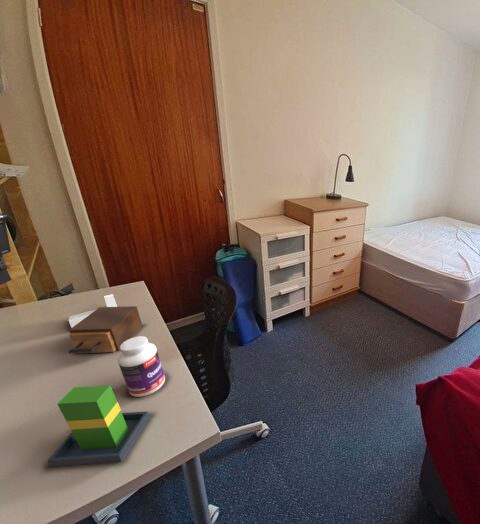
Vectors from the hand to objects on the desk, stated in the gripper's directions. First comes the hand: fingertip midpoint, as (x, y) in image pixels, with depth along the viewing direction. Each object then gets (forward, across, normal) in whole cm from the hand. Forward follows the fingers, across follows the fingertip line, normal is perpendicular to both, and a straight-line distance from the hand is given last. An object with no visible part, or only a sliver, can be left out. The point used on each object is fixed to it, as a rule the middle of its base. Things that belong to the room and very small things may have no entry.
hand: (2, 282), depth 67 cm
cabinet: (+28, -8, -14) cm, 33 cm away
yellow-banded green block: (+28, -29, +22) cm, 46 cm away
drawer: (+28, -8, -10) cm, 30 cm away
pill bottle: (+29, -30, +7) cm, 42 cm away
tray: (+28, -29, +22) cm, 46 cm away
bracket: (+29, +5, -26) cm, 39 cm away
